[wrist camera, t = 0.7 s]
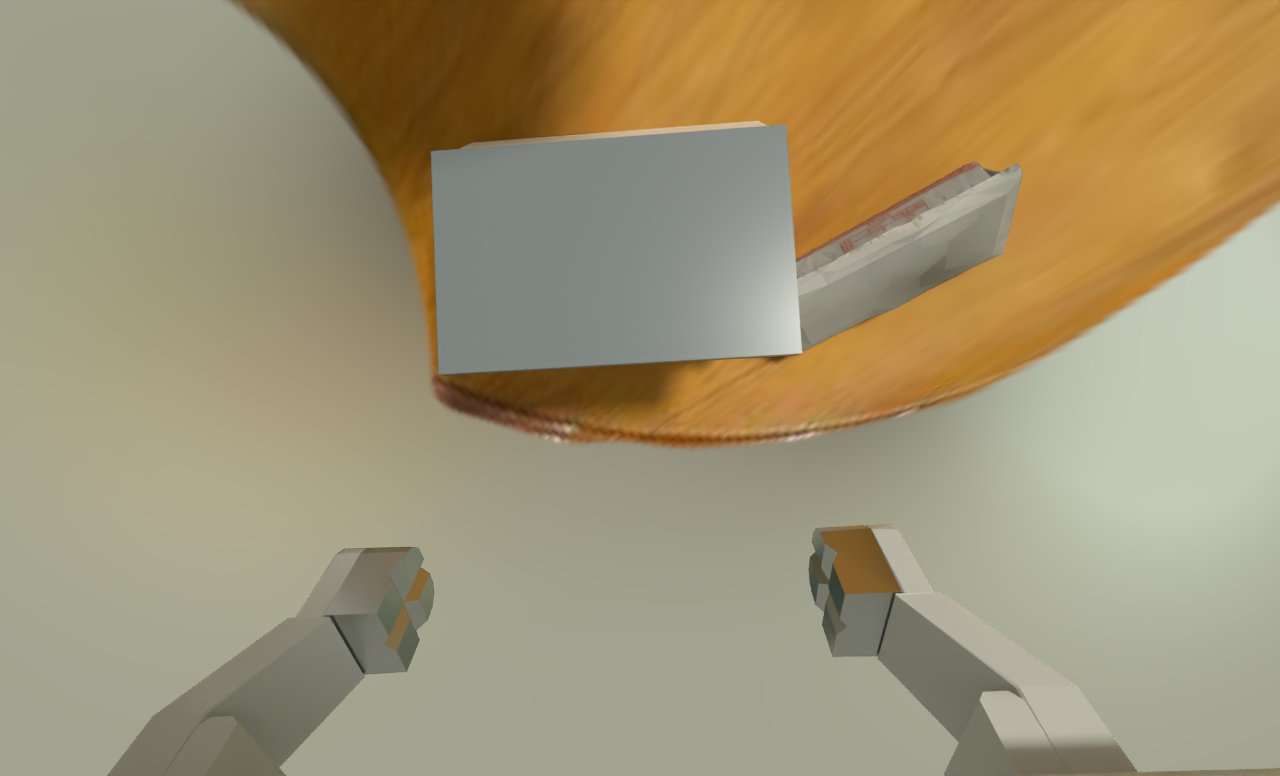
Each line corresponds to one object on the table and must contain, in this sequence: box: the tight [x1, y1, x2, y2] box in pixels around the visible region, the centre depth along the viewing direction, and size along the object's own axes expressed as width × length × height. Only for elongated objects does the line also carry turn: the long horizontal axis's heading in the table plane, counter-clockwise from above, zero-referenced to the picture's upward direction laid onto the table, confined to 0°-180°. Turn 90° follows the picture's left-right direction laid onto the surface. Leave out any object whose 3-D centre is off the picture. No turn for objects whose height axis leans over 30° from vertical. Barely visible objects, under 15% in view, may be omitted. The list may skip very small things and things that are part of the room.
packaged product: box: [796, 161, 1022, 351], centre depth 42 cm, size 18×5×10 cm
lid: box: [431, 124, 802, 376], centre depth 33 cm, size 14×22×1 cm
